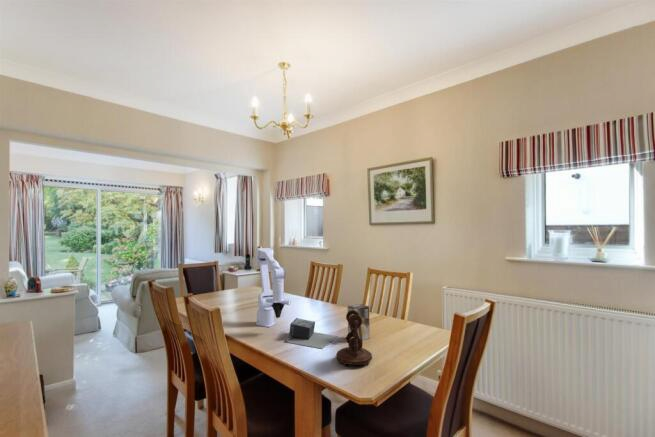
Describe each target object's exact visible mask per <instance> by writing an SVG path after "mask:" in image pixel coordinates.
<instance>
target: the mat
mask: <svg viewBox="0 0 655 437" xmlns="http://www.w3.org/2000/svg"><path fill="white" fill-rule="evenodd" d="M337 338H338V335H332V334H329V333H328V334H327V333H322V332H321V333H320V332H316V331H314V333H313V334H312V336H311V337H310V339H309V340H308V339H303V338H298V337H293V336H290V337H289V338H287V339H285V340H284V343H287V344H293V345H298V346H303V347H307V348H308V347H309V348H314V349H320V350H323V349H325V347H326V346H328V345H330V343H331V342H333V341H334V340H335V339H337Z"/></svg>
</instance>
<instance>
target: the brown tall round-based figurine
mask: <svg viewBox="0 0 655 437" xmlns="http://www.w3.org/2000/svg"><path fill="white" fill-rule="evenodd" d="M345 315H346V316H345V319H346V321H347V324H348V323H349V325H350V330H351V332H350V333H348V332H347V335H346V338H345V339H346V342H347V344H348V346H347V347H343V348H341V349H339V350H338V351H337V352H336V355H335V357H336V359H337V360H338V361H339V362H340V363H342V365H343V366H344V367H346V365H352V366H354V365H356V366H357V365H360V366H361V365H365V364H366V365H367V366H369V364H370V362H371V361H372V360H373V354H372V352H370V351H369V350H367V349H366V348H364V347H363V344H364V343H363V341H364V340H362V330H361V324H362V319H361V317H360V316H359V314H358V312H357V311H355V310H351V311H349V312H348V311H347V313H346V314H345ZM358 329H359V335H360V339H359V335H358V332H357V331H358Z"/></svg>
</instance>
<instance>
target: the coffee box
mask: <svg viewBox="0 0 655 437" xmlns="http://www.w3.org/2000/svg"><path fill="white" fill-rule="evenodd" d="M351 310H355V311H357V312H358V314H359V316H360V317H361V319H362V324H361V330H362V341H365V340H369V339H371V338H370V335H371V334H370V306H369V305H365V304H362V303H361V304H354V305H347V313H348V312H349V311H351ZM350 332H351V330H350V325H349V323H348V322H347V334H348V333H350ZM357 332H358V335H359V329H358V331H357ZM359 339H360V335H359Z"/></svg>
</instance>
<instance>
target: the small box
mask: <svg viewBox="0 0 655 437" xmlns="http://www.w3.org/2000/svg"><path fill="white" fill-rule="evenodd" d="M289 326H290V327H289V333H288V334H289V336H290V337H291V336H293V337H298V338H303V339H308V340H309V339H310V337H311V336H312V334H313V333H314V332H315V326H316V321H313V320H307V319H303V318H299V317H296V318H295V319H294V320H293V321H292V322H291V323H290V324H289Z"/></svg>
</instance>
